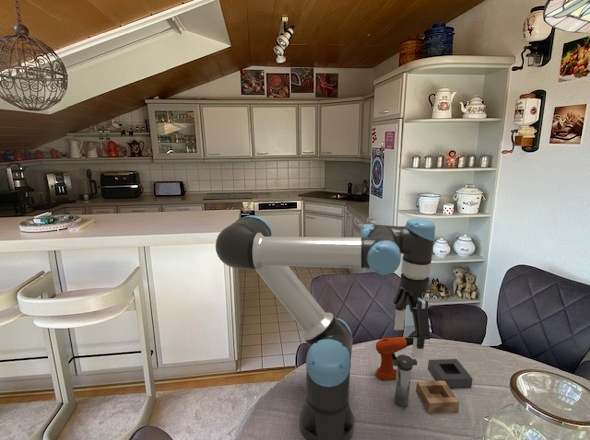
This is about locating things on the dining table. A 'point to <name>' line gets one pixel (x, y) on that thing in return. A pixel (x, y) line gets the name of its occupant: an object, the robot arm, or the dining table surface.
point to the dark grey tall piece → (403, 379)
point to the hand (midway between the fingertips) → (407, 342)
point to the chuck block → (450, 373)
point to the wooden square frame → (437, 397)
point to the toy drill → (390, 355)
